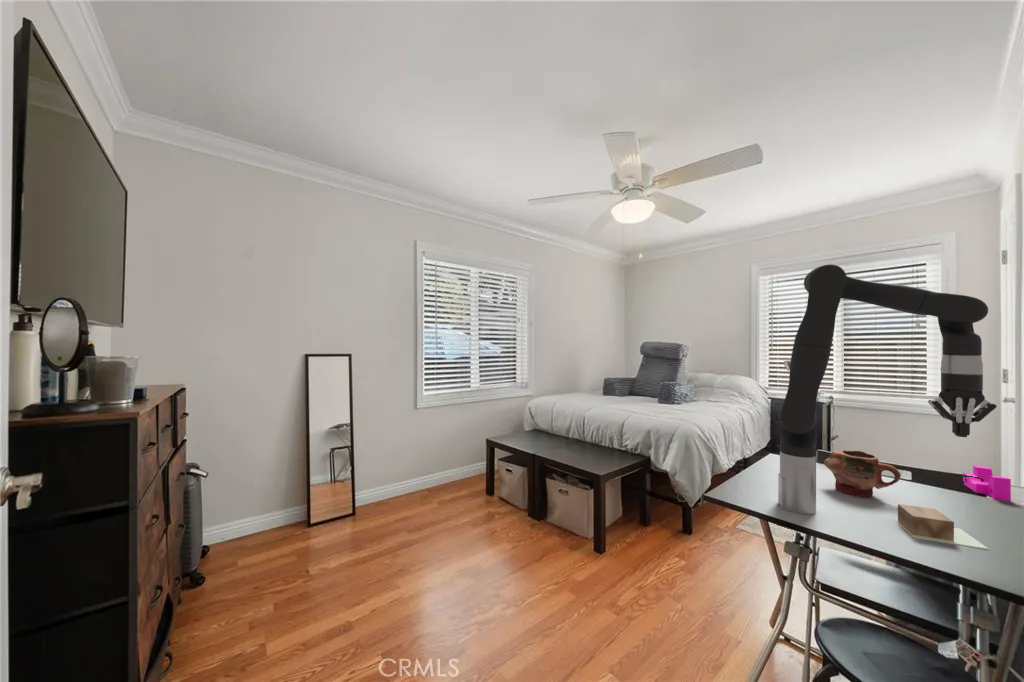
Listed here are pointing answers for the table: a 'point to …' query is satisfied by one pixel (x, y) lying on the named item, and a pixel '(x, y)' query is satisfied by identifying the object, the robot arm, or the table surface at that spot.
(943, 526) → the walnut block
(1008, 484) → the toy block
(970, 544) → the mat
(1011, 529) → the table surface
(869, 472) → the decorative planter
